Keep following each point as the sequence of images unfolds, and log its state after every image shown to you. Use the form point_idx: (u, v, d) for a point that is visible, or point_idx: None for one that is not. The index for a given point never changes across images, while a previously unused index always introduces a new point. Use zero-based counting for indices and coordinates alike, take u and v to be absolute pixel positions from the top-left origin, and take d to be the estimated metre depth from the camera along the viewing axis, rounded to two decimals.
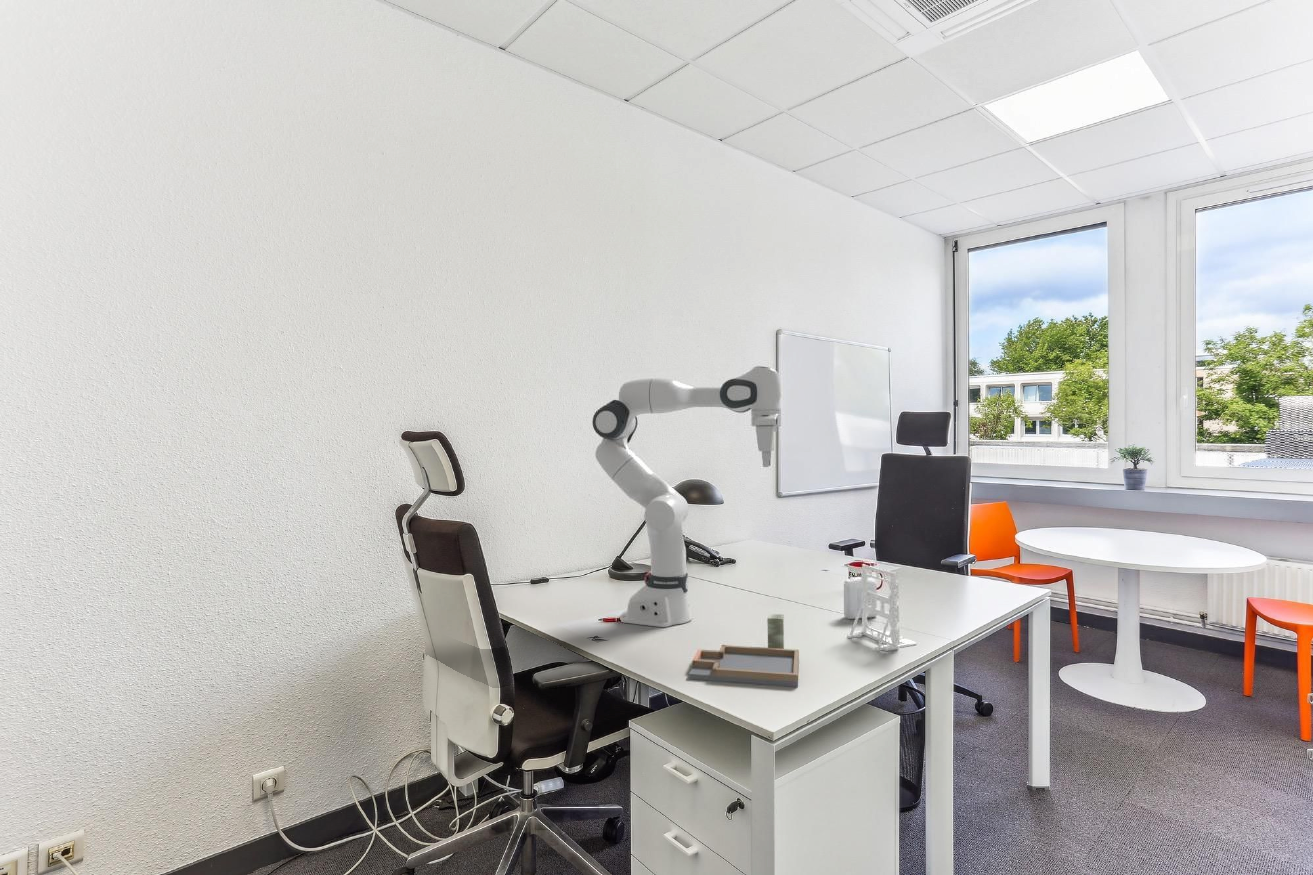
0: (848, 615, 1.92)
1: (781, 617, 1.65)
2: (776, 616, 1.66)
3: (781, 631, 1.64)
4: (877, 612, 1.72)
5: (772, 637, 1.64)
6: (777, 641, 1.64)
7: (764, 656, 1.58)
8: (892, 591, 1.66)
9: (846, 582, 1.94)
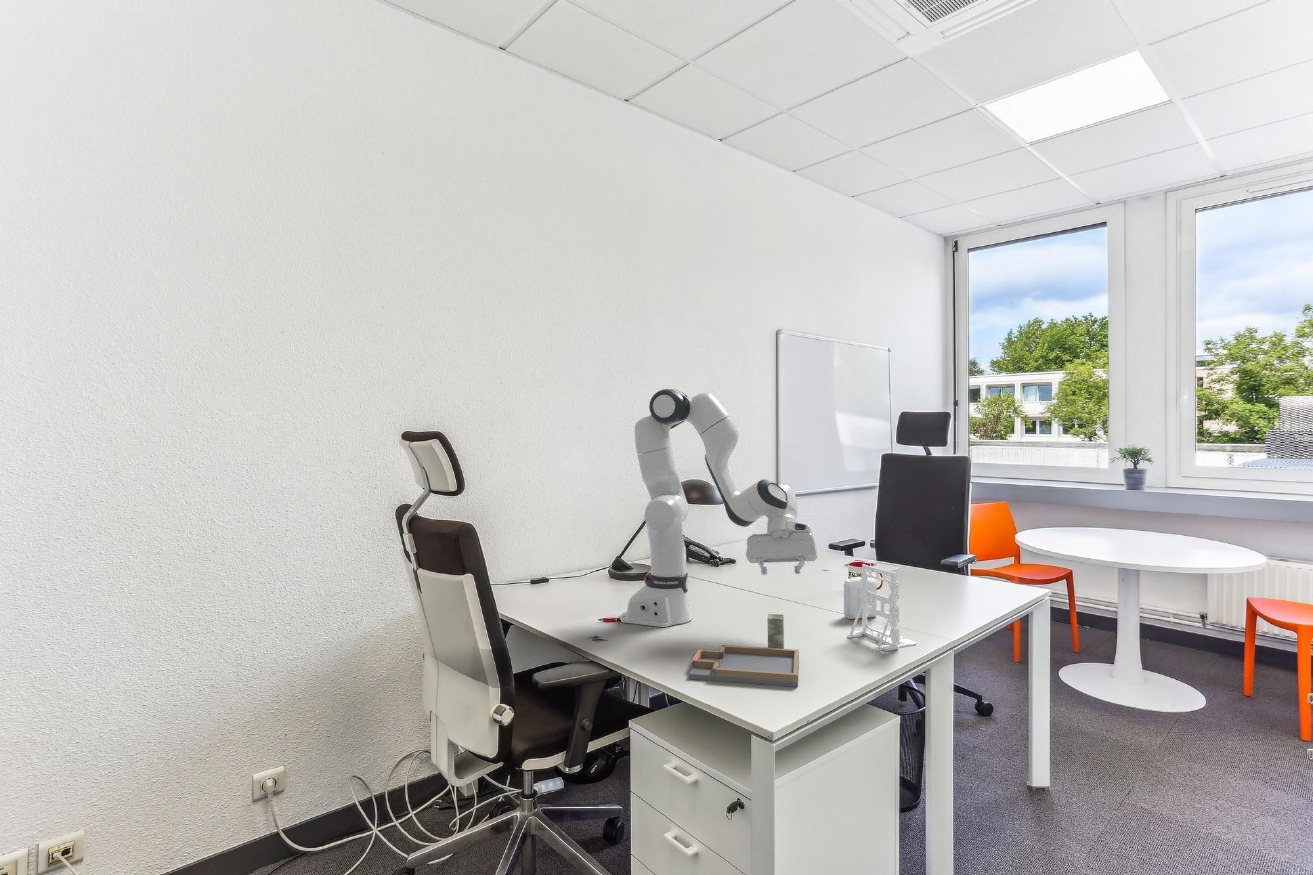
0: (848, 615, 1.92)
1: (781, 617, 1.65)
2: (776, 616, 1.66)
3: (781, 631, 1.64)
4: (877, 612, 1.72)
5: (772, 637, 1.64)
6: (777, 641, 1.64)
7: (764, 656, 1.58)
8: (892, 591, 1.66)
9: (846, 582, 1.94)
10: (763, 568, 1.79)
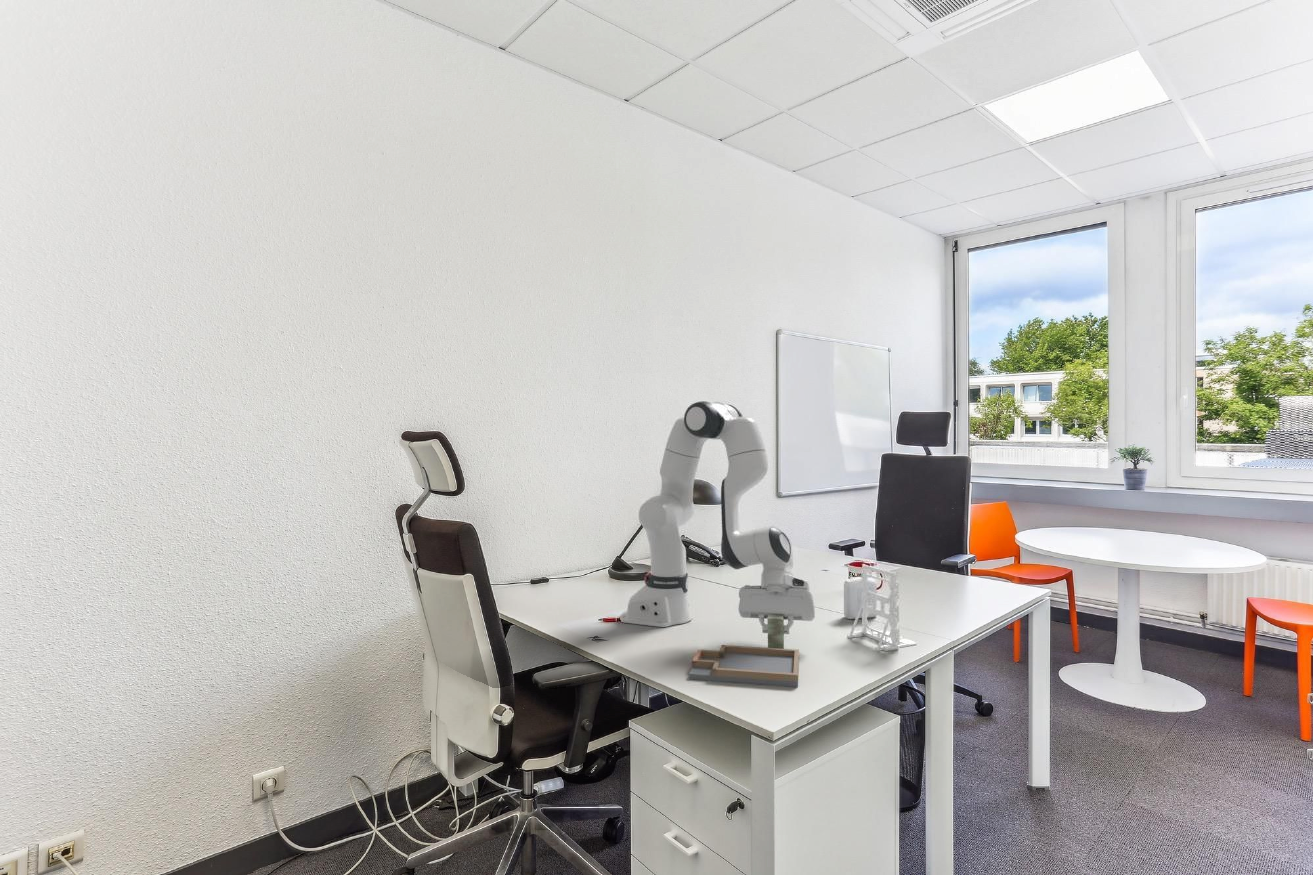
0: (848, 615, 1.92)
1: (781, 617, 1.65)
2: (776, 616, 1.66)
3: (781, 631, 1.64)
4: (877, 612, 1.72)
5: (772, 637, 1.64)
6: (777, 641, 1.64)
7: (764, 656, 1.58)
8: (892, 591, 1.66)
9: (846, 582, 1.94)
10: (765, 626, 1.66)
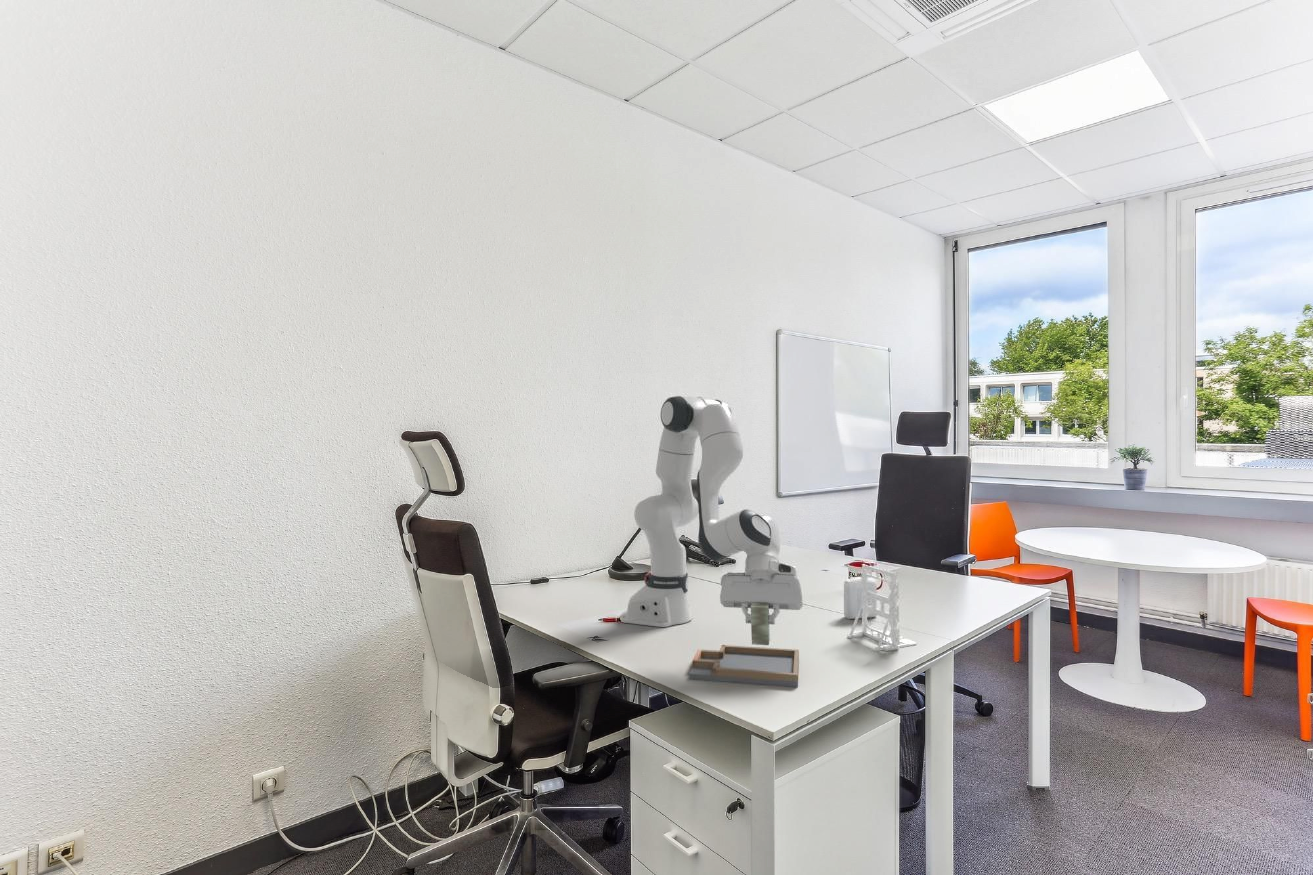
0: (848, 615, 1.92)
1: (766, 606, 1.51)
2: (761, 605, 1.52)
3: (766, 621, 1.50)
4: (877, 612, 1.72)
5: (756, 628, 1.50)
6: (762, 632, 1.50)
7: (764, 656, 1.58)
8: (892, 591, 1.66)
9: (846, 582, 1.94)
10: (748, 616, 1.52)
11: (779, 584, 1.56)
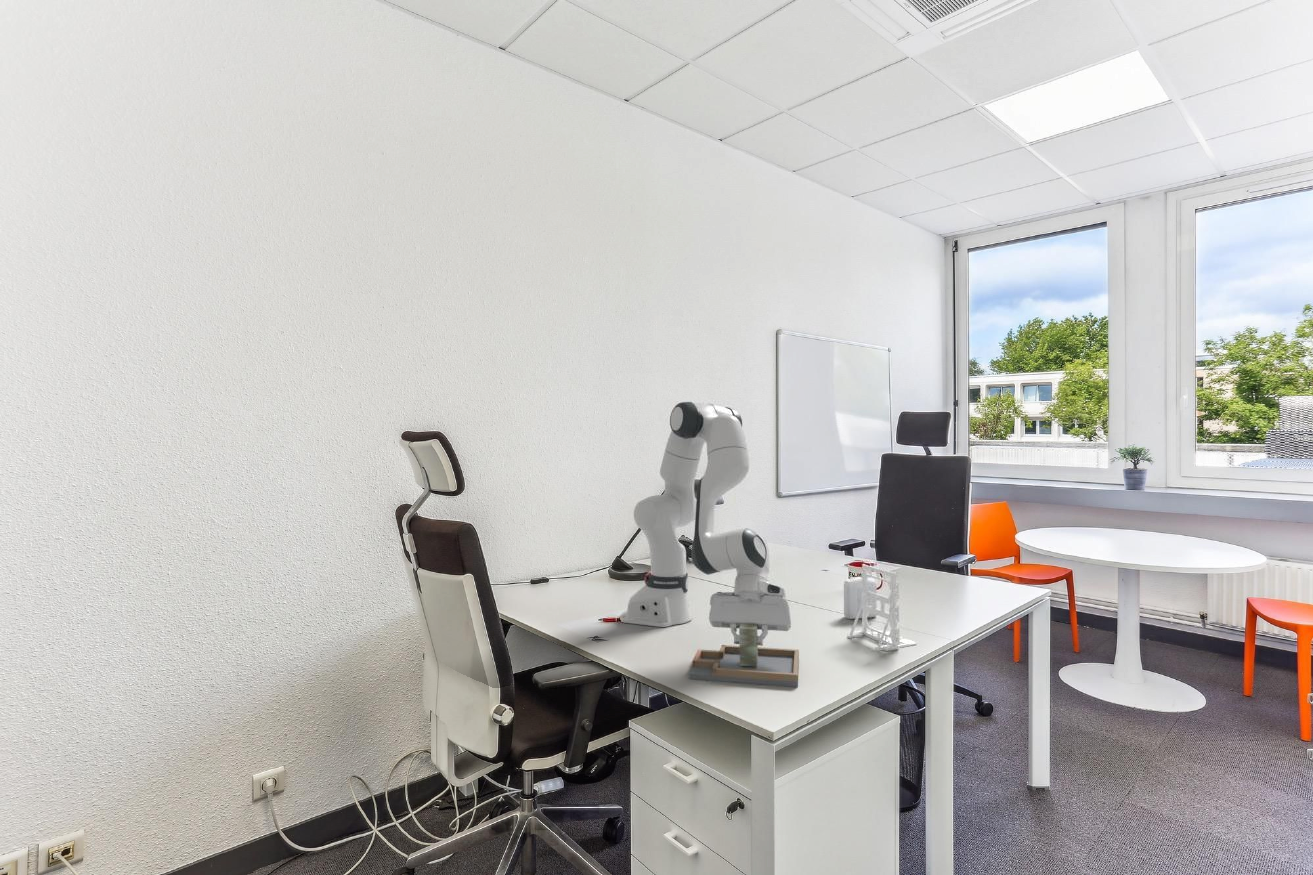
0: (848, 615, 1.92)
1: (754, 627, 1.52)
2: (749, 626, 1.53)
3: (754, 642, 1.51)
4: (877, 612, 1.72)
5: (744, 649, 1.51)
6: (750, 653, 1.51)
7: (764, 656, 1.58)
8: (892, 591, 1.66)
9: (846, 582, 1.94)
10: (736, 636, 1.53)
11: (768, 605, 1.57)
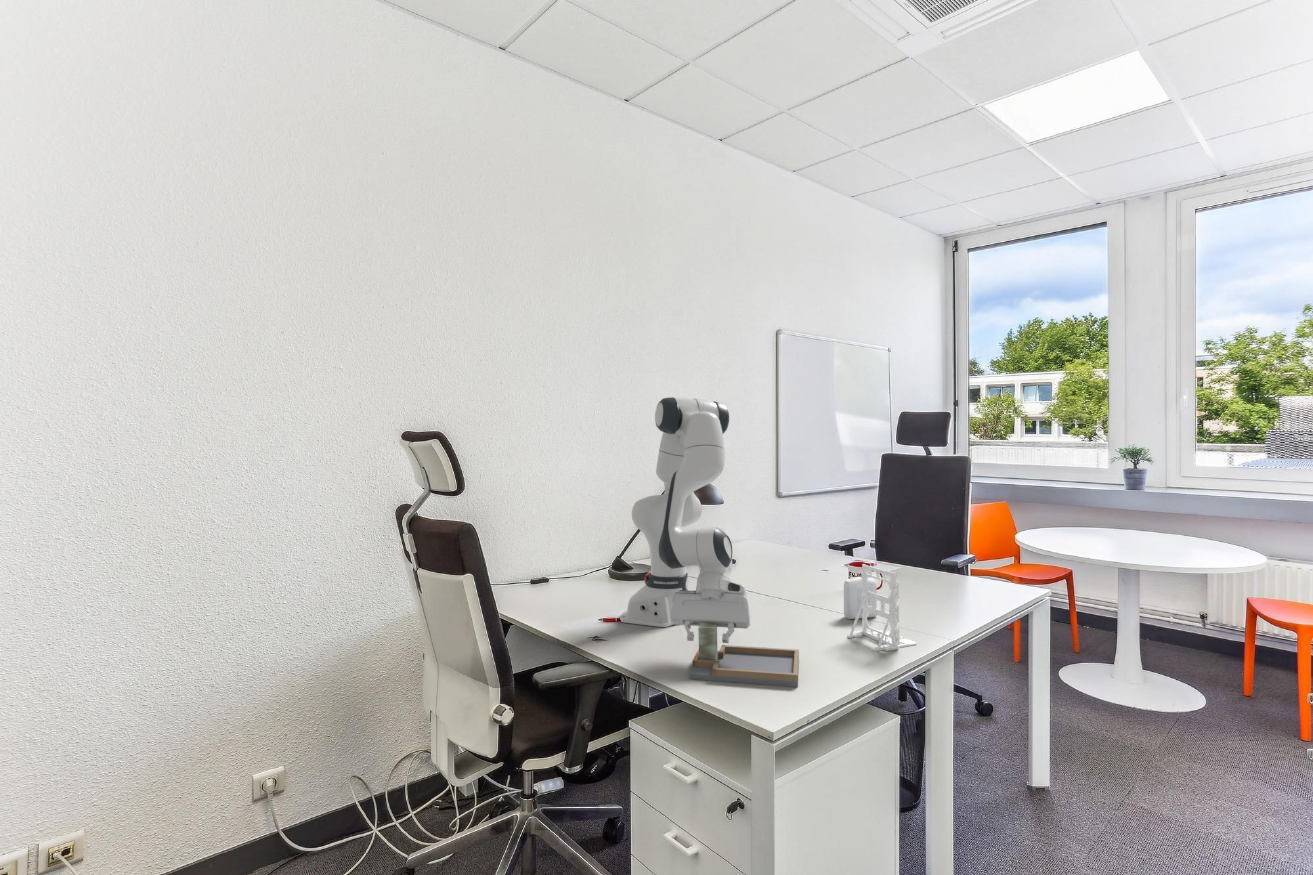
0: (848, 615, 1.92)
1: (713, 626, 1.54)
2: (708, 625, 1.55)
3: (713, 641, 1.53)
4: (877, 612, 1.72)
5: (703, 648, 1.54)
6: (709, 652, 1.53)
7: (764, 656, 1.58)
8: (892, 591, 1.66)
9: (846, 582, 1.94)
10: (690, 633, 1.56)
11: (728, 603, 1.59)
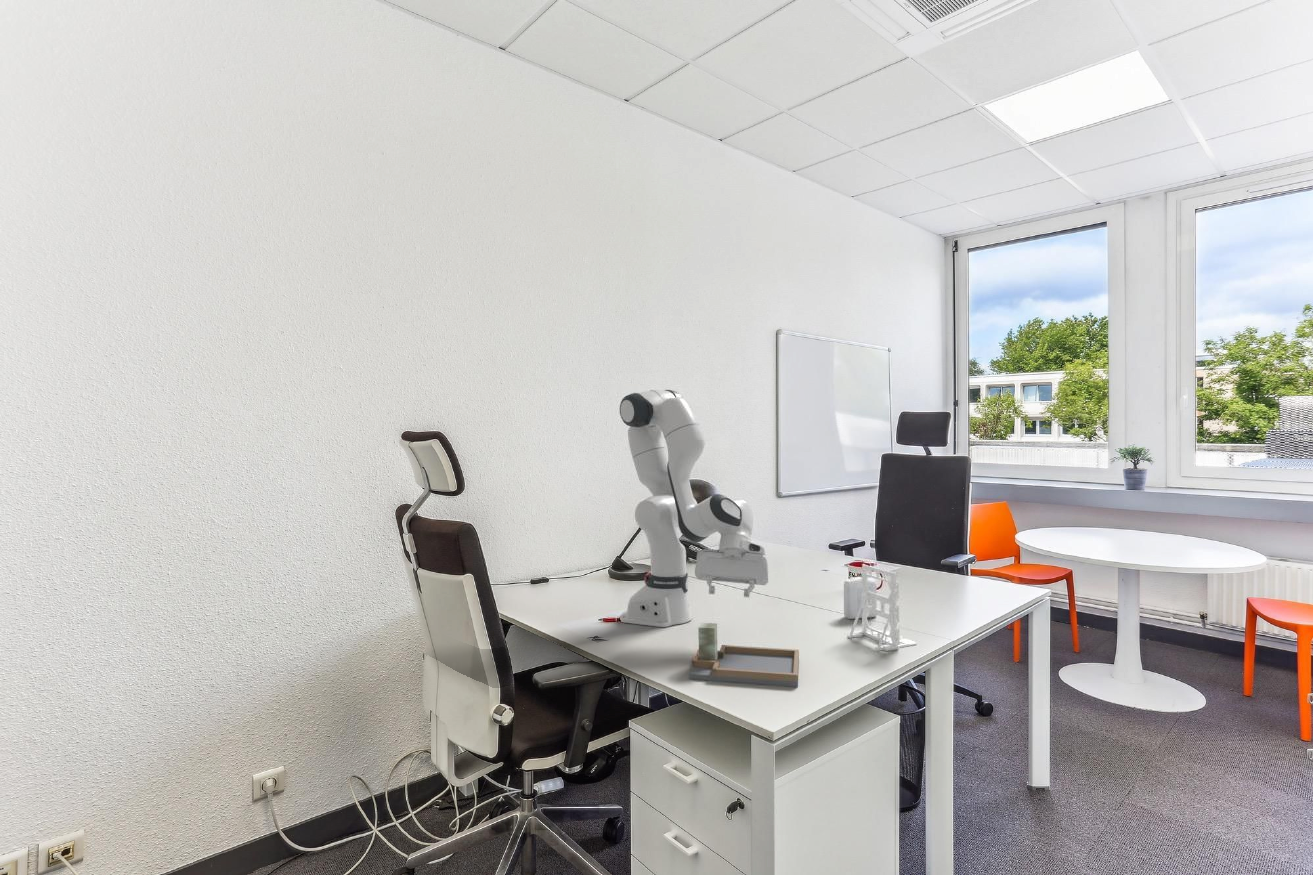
0: (848, 615, 1.92)
1: (713, 626, 1.54)
2: (708, 625, 1.55)
3: (713, 641, 1.53)
4: (877, 612, 1.72)
5: (703, 648, 1.54)
6: (709, 652, 1.53)
7: (764, 656, 1.58)
8: (892, 591, 1.66)
9: (846, 582, 1.94)
10: (711, 587, 1.70)
11: (748, 561, 1.73)
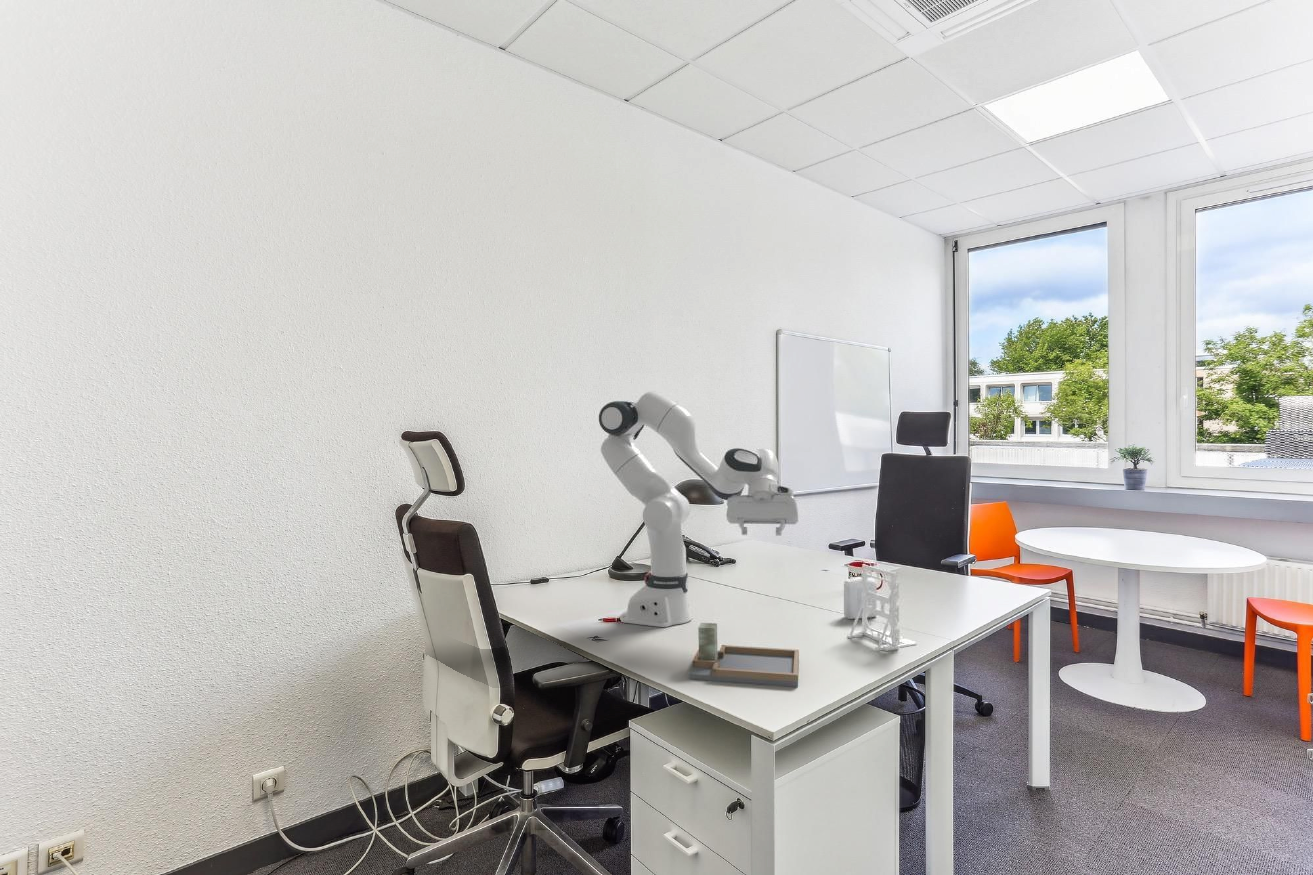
0: (848, 615, 1.92)
1: (713, 626, 1.54)
2: (708, 625, 1.55)
3: (713, 641, 1.53)
4: (877, 612, 1.72)
5: (703, 648, 1.54)
6: (709, 652, 1.53)
7: (764, 656, 1.58)
8: (892, 591, 1.66)
9: (846, 582, 1.94)
10: (744, 528, 1.76)
11: (778, 503, 1.80)
